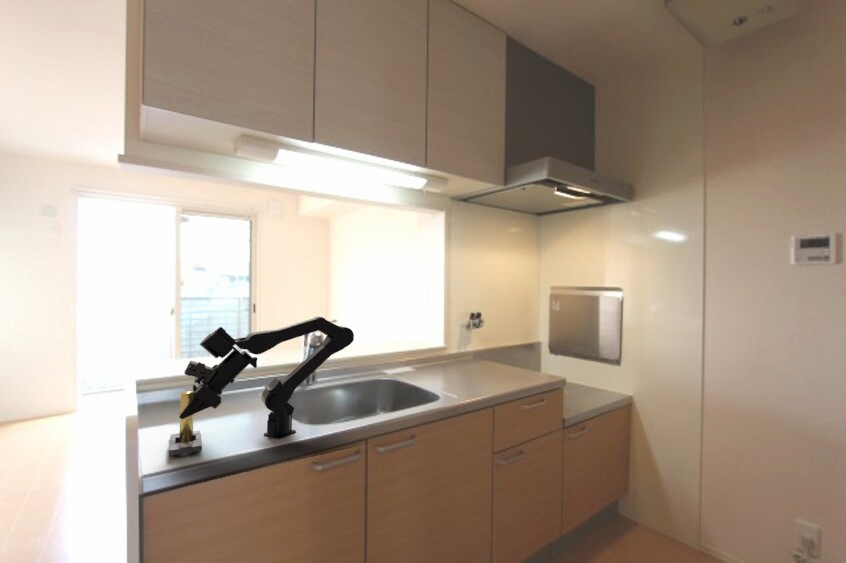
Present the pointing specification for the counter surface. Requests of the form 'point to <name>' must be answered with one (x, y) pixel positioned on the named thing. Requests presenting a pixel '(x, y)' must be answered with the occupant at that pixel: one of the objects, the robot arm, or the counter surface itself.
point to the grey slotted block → (185, 445)
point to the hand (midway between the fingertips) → (180, 416)
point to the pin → (187, 422)
